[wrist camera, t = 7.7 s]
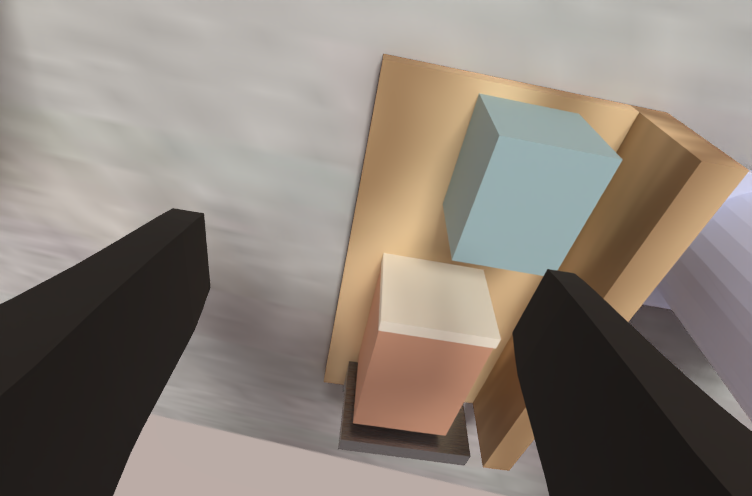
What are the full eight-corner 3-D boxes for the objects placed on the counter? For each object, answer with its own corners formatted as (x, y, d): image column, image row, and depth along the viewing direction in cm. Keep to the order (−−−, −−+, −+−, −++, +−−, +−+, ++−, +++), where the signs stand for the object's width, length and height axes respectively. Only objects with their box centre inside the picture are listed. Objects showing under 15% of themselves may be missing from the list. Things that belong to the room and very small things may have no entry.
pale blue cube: (579, 113, 16) (622, 159, 13) (527, 219, 19) (553, 277, 16) (479, 93, 16) (499, 135, 13) (442, 204, 19) (451, 260, 16)
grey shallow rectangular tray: (459, 377, 27) (470, 456, 23) (447, 399, 28) (456, 477, 24) (349, 361, 26) (340, 439, 22) (343, 384, 28) (334, 462, 24)
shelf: (667, 113, 17) (749, 170, 13) (493, 395, 29) (509, 470, 25) (383, 53, 16) (379, 97, 12) (325, 371, 28) (313, 445, 24)
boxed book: (483, 269, 21) (501, 339, 18) (439, 367, 26) (446, 437, 23) (383, 252, 21) (380, 320, 17) (357, 355, 26) (351, 424, 22)
